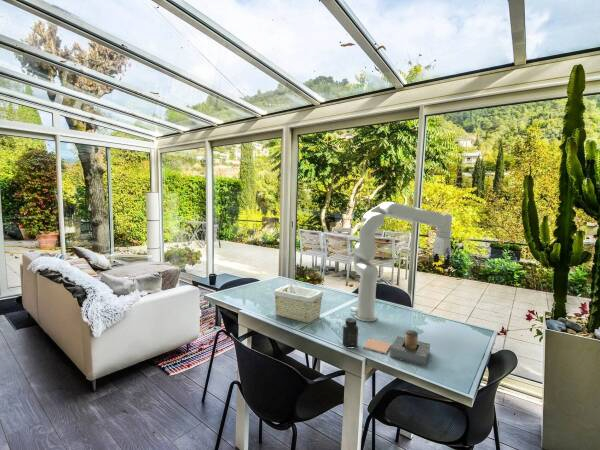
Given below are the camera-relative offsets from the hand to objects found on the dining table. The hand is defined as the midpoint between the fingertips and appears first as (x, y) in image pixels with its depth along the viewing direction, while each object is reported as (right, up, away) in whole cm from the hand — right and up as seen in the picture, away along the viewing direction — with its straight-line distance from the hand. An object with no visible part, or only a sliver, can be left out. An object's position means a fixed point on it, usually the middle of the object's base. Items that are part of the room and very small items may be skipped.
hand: (441, 264), depth 182 cm
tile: (-48, -32, -41) cm, 71 cm away
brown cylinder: (-35, -33, -47) cm, 68 cm away
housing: (-35, -33, -47) cm, 68 cm away
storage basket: (-84, -29, -7) cm, 89 cm away
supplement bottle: (-60, -32, -41) cm, 80 cm away
